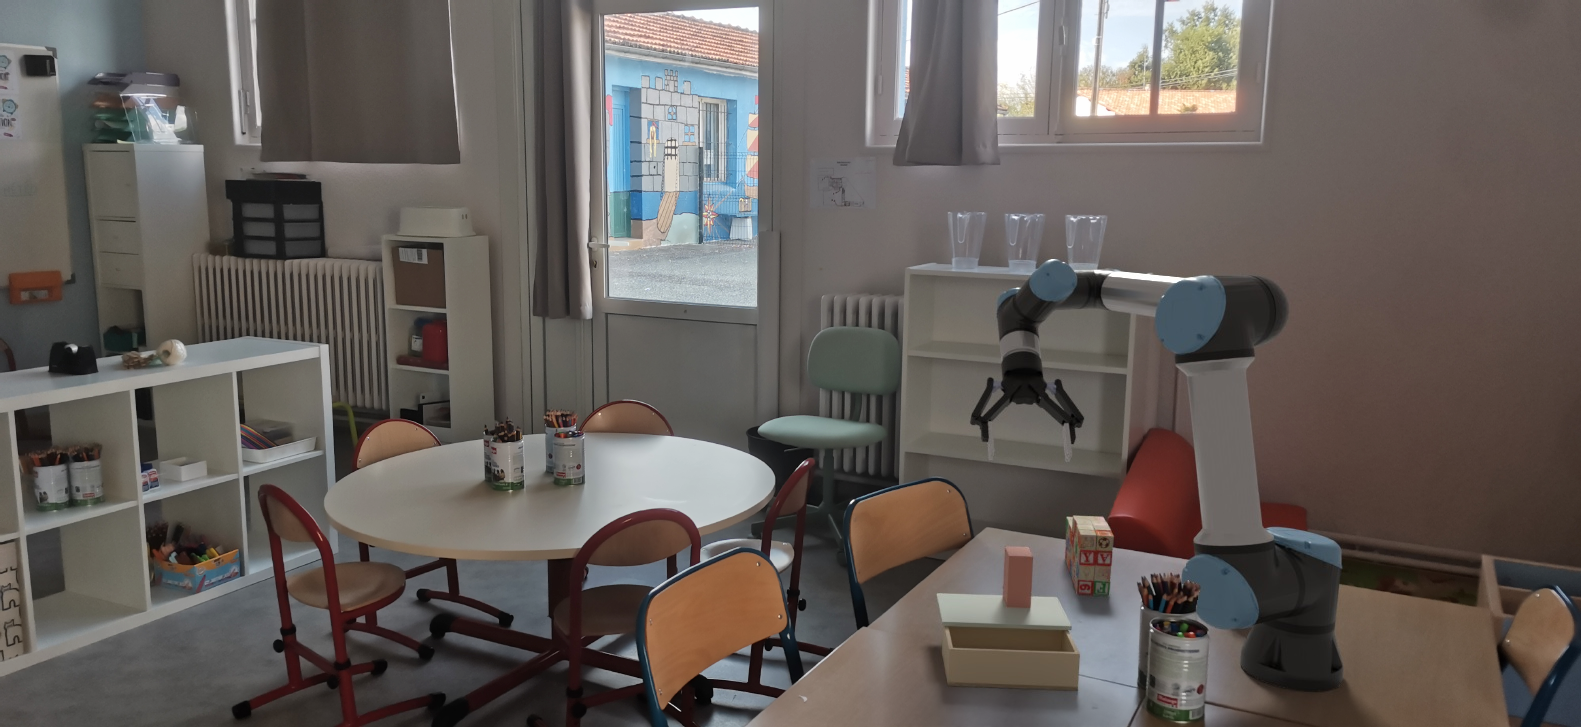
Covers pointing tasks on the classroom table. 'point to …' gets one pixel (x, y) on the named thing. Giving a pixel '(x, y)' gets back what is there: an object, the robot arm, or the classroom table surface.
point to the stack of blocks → (1089, 554)
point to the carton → (1010, 658)
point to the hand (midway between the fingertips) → (1030, 457)
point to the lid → (1006, 601)
